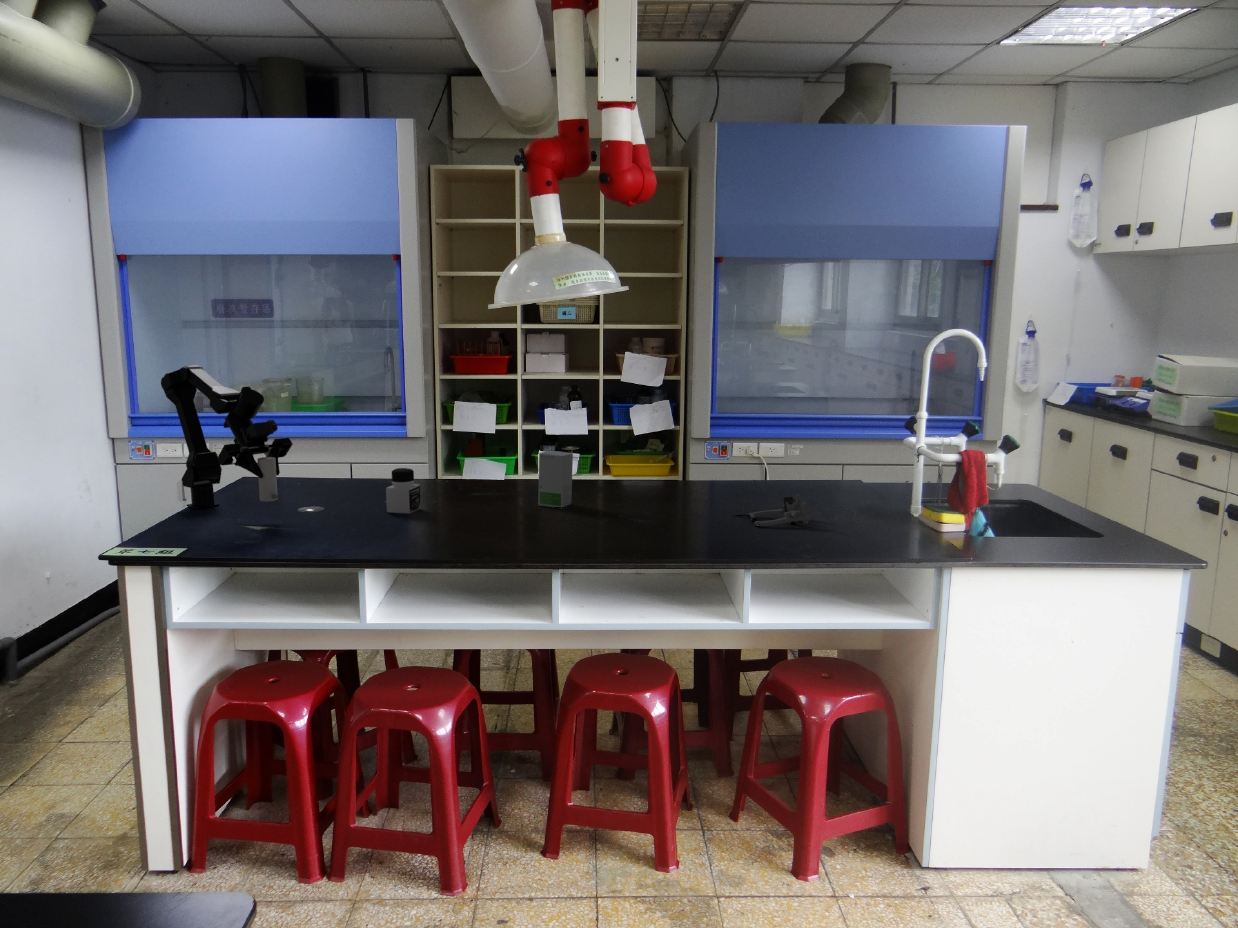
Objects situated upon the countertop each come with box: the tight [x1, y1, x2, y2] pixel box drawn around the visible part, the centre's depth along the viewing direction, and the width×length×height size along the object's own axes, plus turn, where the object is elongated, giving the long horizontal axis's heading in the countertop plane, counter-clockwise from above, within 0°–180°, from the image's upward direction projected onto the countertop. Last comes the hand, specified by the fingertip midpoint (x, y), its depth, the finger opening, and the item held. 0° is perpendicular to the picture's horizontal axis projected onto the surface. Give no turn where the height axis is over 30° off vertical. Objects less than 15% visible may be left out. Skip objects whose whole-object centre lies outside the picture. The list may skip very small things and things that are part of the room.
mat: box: [233, 523, 276, 531], centre depth 231 cm, size 12×12×1 cm
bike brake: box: [734, 493, 812, 527], centre depth 236 cm, size 14×7×20 cm
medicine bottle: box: [385, 467, 421, 515], centre depth 246 cm, size 7×7×12 cm
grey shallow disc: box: [297, 506, 325, 513], centre depth 245 cm, size 7×7×1 cm
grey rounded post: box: [256, 456, 279, 502], centre depth 229 cm, size 6×4×11 cm
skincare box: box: [537, 450, 574, 508], centre depth 254 cm, size 8×7×16 cm
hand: (270, 475), depth 228 cm, fingers closed on grey rounded post, 4 cm apart
